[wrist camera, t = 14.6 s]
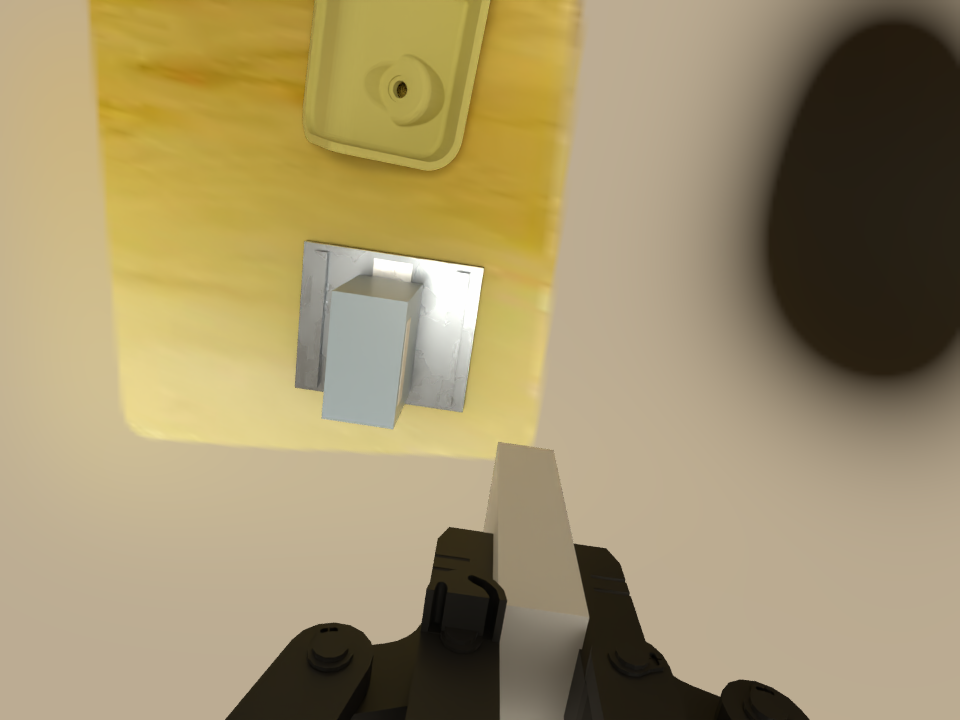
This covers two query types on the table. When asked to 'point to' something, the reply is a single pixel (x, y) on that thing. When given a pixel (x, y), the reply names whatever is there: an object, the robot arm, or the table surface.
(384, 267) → the rail mount
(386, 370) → the block
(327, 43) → the plastic component
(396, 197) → the table surface
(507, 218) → the table surface
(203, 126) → the table surface
